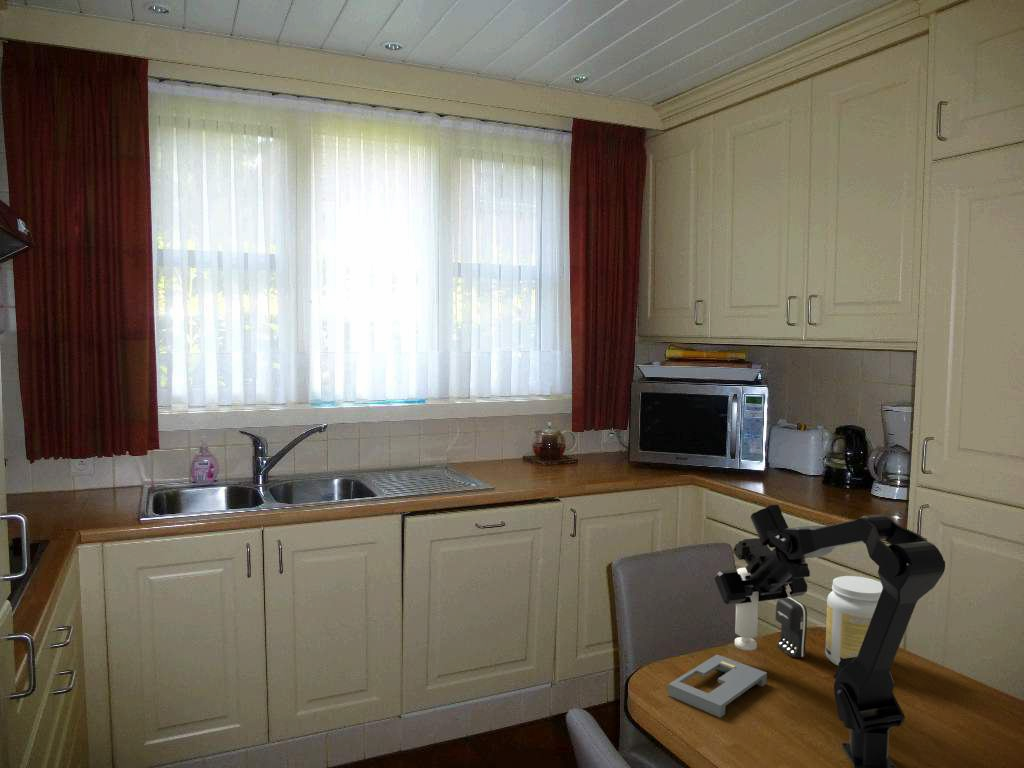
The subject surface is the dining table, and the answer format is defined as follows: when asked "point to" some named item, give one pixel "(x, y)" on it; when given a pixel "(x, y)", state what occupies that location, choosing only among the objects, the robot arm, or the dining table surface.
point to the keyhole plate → (732, 686)
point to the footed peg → (746, 619)
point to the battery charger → (792, 626)
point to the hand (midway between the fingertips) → (743, 601)
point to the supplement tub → (849, 615)
